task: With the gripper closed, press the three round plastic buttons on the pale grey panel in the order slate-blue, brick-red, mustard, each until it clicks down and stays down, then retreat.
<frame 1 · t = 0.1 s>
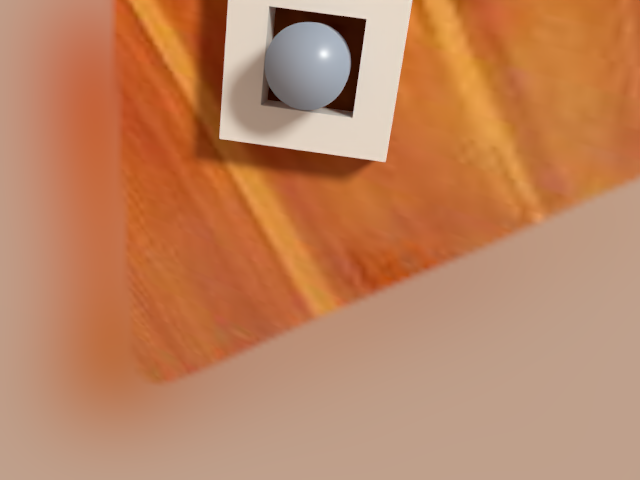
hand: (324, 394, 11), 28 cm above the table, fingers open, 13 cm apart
blue button: (309, 64, 33), point 4 cm above the table, slide at 0.0 cm
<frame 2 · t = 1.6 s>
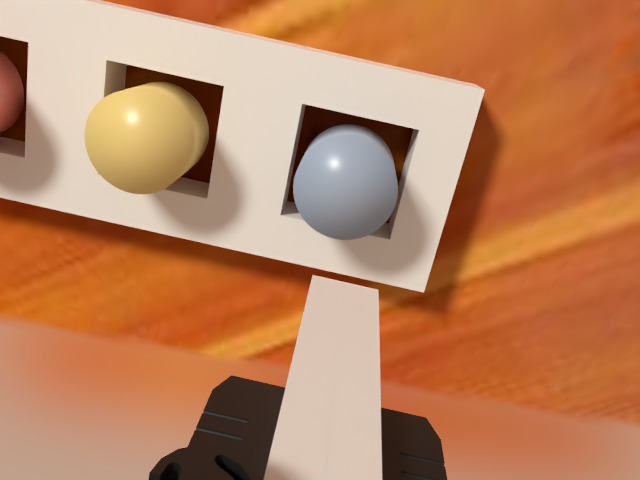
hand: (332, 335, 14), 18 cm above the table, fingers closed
panel: (175, 123, 30), on the table
blue button: (346, 180, 27), point 4 cm above the table, slide at 0.0 cm
mustard button: (150, 136, 27), point 4 cm above the table, slide at 0.0 cm
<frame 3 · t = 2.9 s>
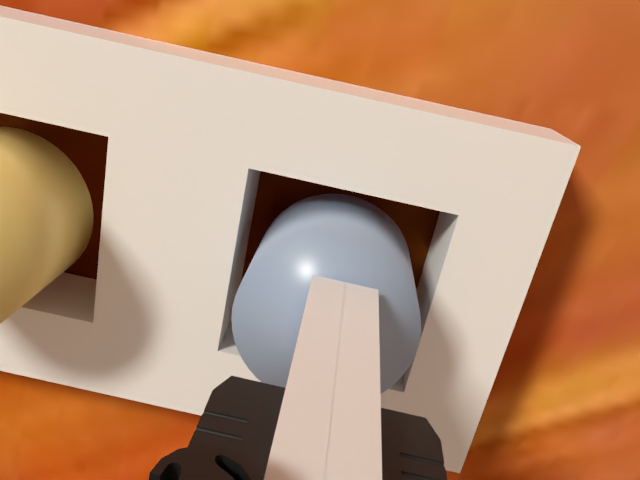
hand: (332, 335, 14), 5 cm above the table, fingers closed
panel: (48, 188, 18), on the table
blue button: (329, 294, 15), point 3 cm above the table, slide at 0.7 cm, touching gripper
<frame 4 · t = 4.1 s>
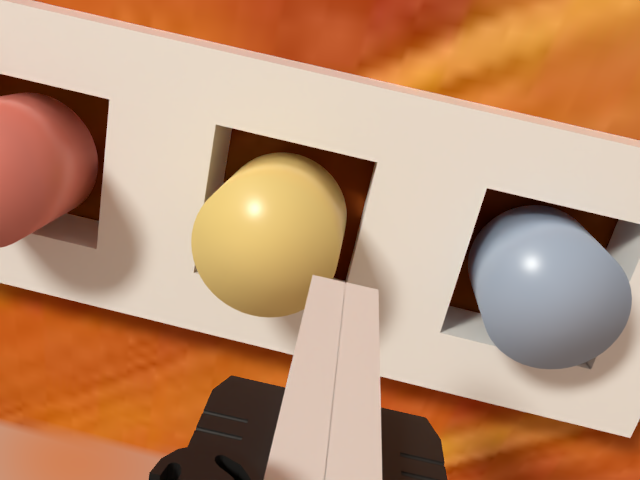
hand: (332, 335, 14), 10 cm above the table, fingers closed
panel: (292, 200, 23), on the table
blue button: (541, 283, 20), point 3 cm above the table, slide at 1.1 cm
red button: (8, 166, 19), point 4 cm above the table, slide at 0.0 cm
mustard button: (275, 230, 19), point 4 cm above the table, slide at 0.0 cm
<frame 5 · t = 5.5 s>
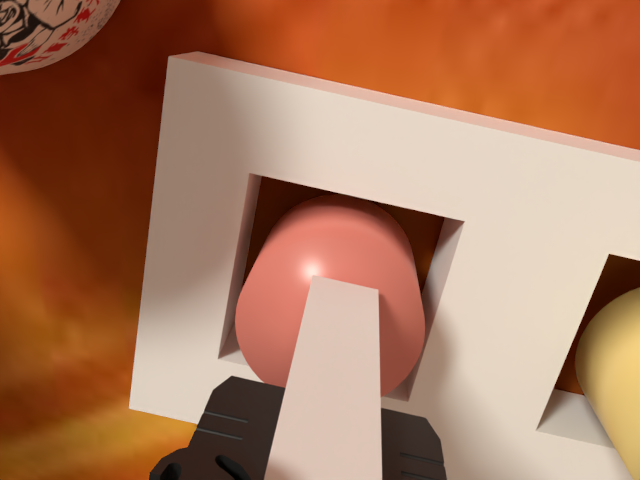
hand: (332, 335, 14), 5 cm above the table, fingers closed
panel: (632, 324, 18), on the table
red button: (333, 295, 15), point 3 cm above the table, slide at 1.0 cm, touching gripper
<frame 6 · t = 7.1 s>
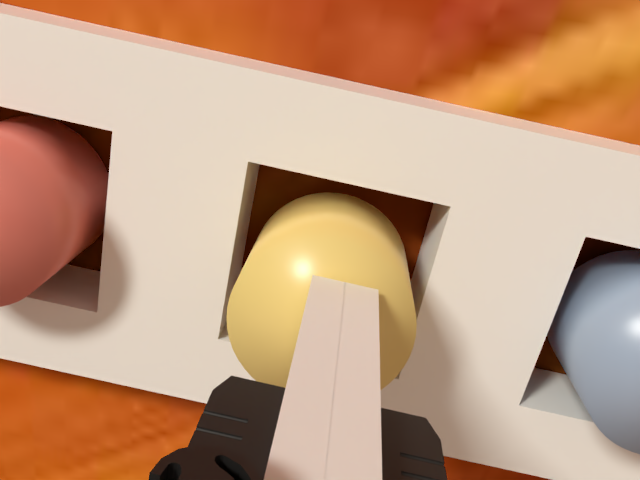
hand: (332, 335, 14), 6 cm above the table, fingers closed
panel: (332, 244, 19), on the table
red button: (7, 206, 16), point 3 cm above the table, slide at 1.1 cm
mustard button: (325, 293, 15), point 4 cm above the table, slide at 0.1 cm, touching gripper
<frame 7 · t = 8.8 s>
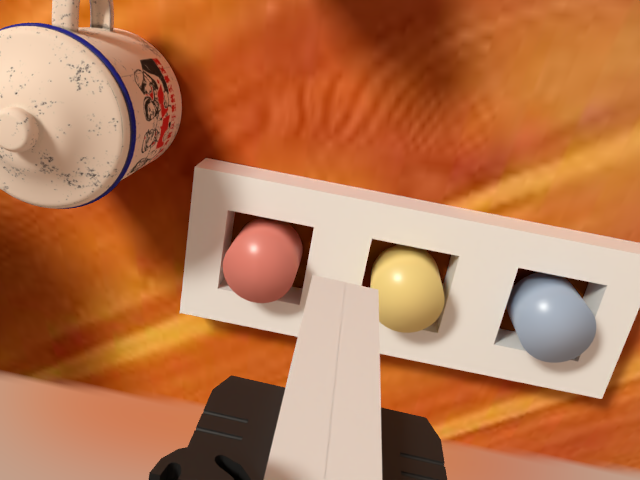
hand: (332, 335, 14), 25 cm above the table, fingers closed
panel: (404, 271, 39), on the table
blue button: (549, 316, 37), point 3 cm above the table, slide at 1.1 cm
red button: (264, 258, 37), point 3 cm above the table, slide at 1.1 cm
mustard button: (405, 287, 37), point 3 cm above the table, slide at 1.1 cm
teacup with lid: (119, 76, 37), on the table
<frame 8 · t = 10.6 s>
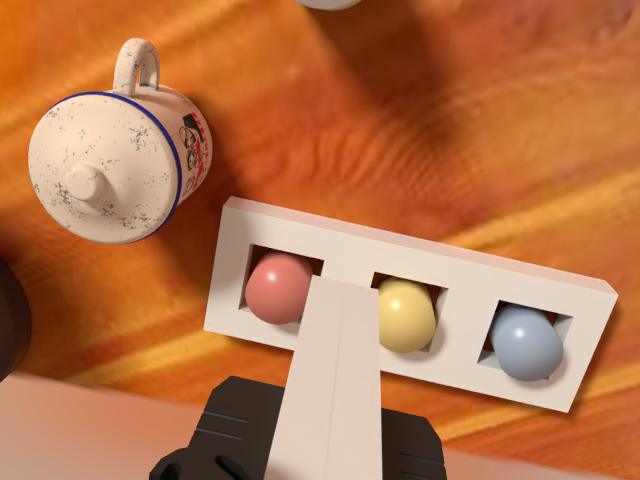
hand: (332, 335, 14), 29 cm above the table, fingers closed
panel: (400, 298, 45), on the table
blue button: (524, 341, 43), point 3 cm above the table, slide at 1.1 cm
red button: (280, 285, 43), point 3 cm above the table, slide at 1.1 cm
mustard button: (402, 313, 43), point 3 cm above the table, slide at 1.1 cm
teacup with lid: (158, 123, 42), on the table
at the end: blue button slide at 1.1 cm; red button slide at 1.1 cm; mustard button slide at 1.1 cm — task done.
